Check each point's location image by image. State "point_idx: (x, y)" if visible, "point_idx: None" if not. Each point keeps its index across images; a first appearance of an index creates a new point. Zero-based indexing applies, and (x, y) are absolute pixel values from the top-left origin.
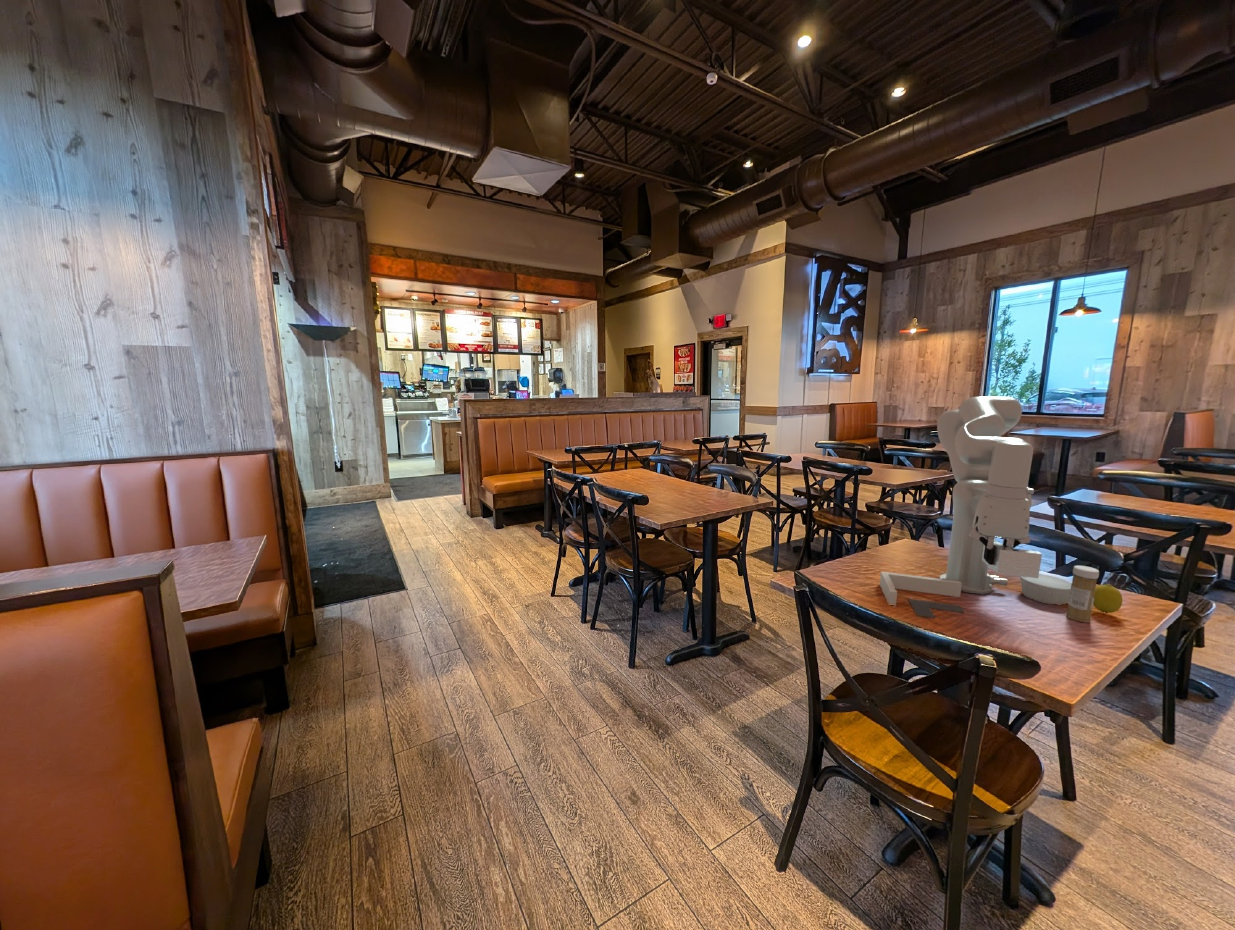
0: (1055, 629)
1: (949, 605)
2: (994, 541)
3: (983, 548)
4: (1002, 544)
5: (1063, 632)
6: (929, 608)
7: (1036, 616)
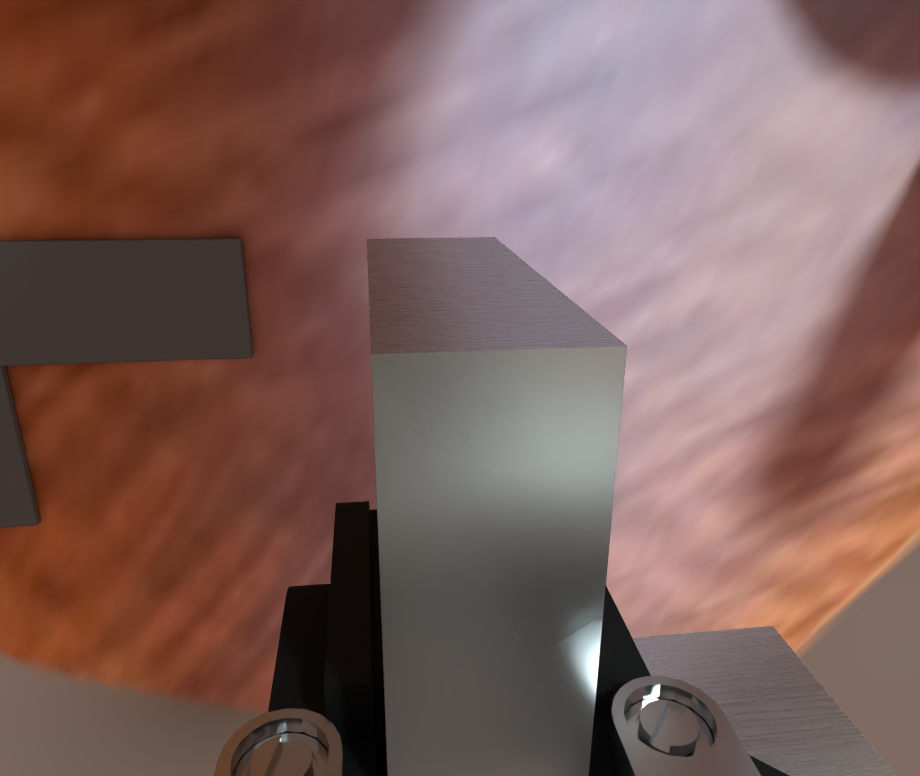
0: (734, 385)
1: (159, 269)
2: (519, 624)
3: (368, 284)
4: (618, 741)
5: (756, 410)
6: (4, 390)
7: (731, 210)
